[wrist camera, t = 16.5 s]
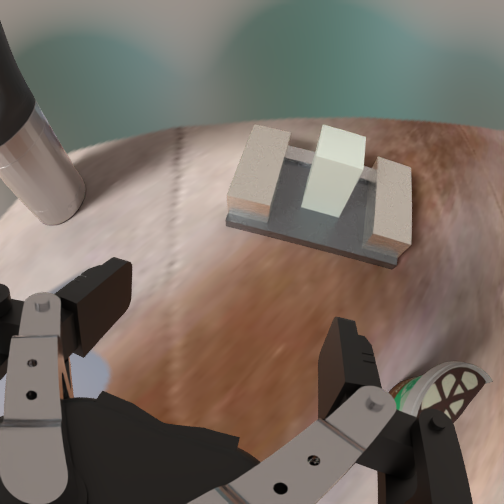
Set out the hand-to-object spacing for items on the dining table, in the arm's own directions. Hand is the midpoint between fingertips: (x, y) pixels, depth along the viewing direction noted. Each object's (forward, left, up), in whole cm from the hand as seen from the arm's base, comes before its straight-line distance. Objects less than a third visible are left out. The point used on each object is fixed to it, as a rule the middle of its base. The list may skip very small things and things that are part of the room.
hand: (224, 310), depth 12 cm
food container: (+20, -1, -24) cm, 32 cm away
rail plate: (+5, +22, -24) cm, 33 cm away
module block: (+5, +22, -23) cm, 32 cm away
